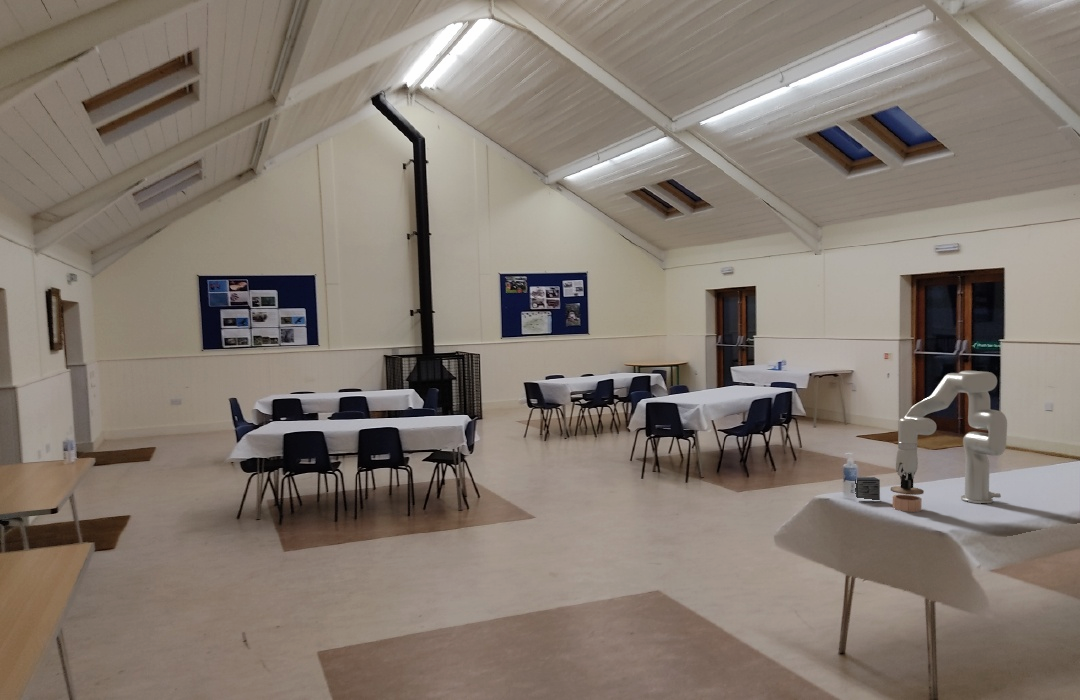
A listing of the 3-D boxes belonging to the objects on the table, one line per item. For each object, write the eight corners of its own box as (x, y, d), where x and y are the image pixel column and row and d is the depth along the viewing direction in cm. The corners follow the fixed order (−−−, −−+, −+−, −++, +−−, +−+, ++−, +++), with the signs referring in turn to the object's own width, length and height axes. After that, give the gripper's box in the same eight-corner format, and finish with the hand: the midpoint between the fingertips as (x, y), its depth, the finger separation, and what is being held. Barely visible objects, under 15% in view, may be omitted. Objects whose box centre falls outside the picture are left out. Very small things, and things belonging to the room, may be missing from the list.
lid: (916, 488, 329) (916, 477, 329) (928, 495, 316) (928, 484, 316) (886, 487, 330) (886, 477, 330) (896, 494, 317) (897, 483, 317)
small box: (874, 498, 342) (874, 476, 341) (880, 502, 335) (880, 479, 335) (851, 498, 342) (851, 476, 342) (856, 502, 336) (857, 479, 335)
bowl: (915, 505, 328) (915, 494, 328) (925, 512, 317) (925, 500, 317) (889, 505, 329) (889, 494, 329) (898, 511, 318) (898, 500, 318)
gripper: (909, 443, 330) (909, 484, 331) (888, 447, 321) (888, 488, 322) (926, 446, 324) (925, 487, 324) (905, 449, 315) (904, 492, 315)
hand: (906, 487), depth 323 cm, fingers closed on lid, 3 cm apart
